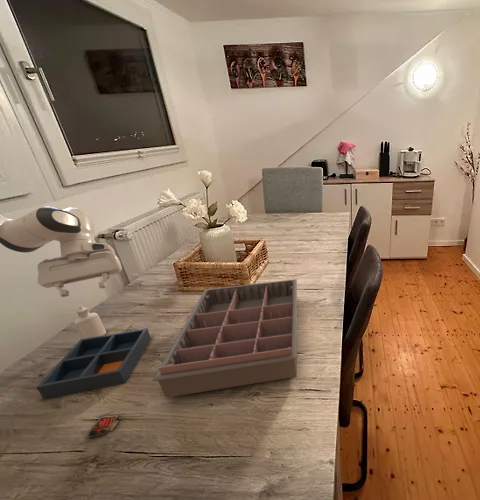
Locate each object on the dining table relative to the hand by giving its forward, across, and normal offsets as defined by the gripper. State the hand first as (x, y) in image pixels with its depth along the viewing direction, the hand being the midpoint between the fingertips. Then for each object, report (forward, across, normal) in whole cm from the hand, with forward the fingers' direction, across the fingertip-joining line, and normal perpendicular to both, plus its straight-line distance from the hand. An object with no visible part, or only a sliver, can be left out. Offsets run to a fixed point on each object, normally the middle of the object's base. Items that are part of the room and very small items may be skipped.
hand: (84, 291), depth 90 cm
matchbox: (+42, +8, -24) cm, 49 cm away
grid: (+26, +5, -8) cm, 28 cm away
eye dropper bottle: (+15, 0, +4) cm, 15 cm away
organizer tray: (+34, +41, -15) cm, 55 cm away
